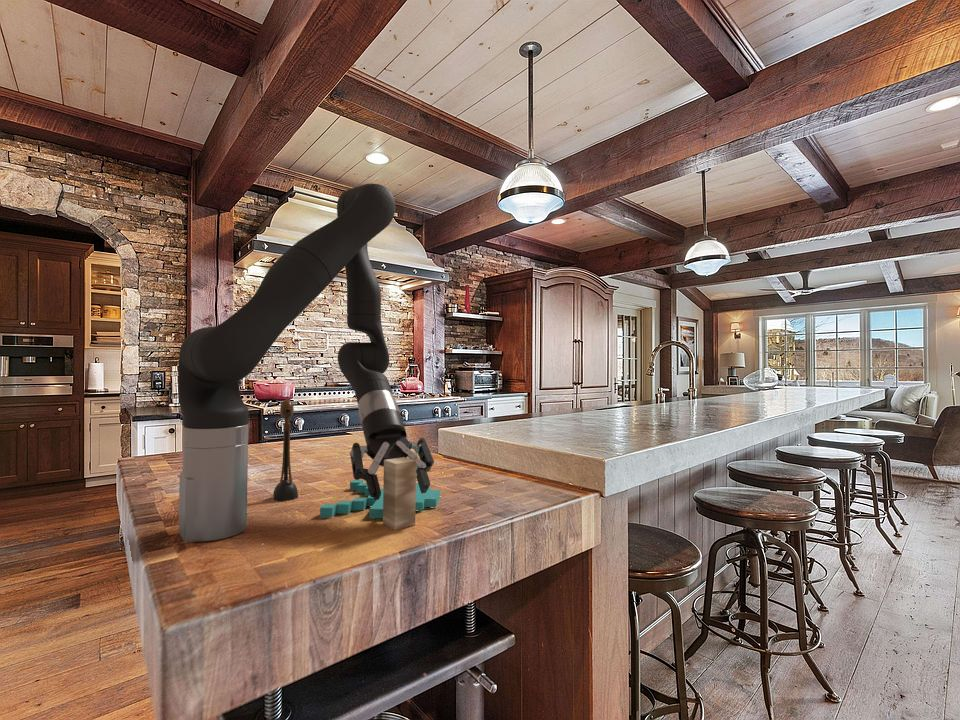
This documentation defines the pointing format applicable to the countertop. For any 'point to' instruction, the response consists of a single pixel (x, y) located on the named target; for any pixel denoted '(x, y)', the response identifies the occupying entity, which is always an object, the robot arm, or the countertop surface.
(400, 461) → the tall wooden block
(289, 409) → the wooden tabletop sculpture
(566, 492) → the countertop surface
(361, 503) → the teal pixel invader
